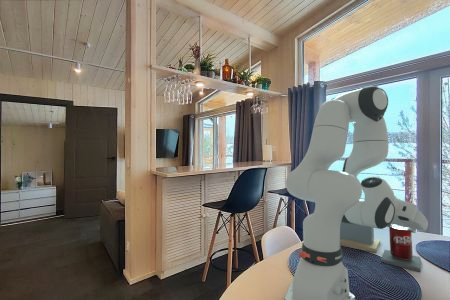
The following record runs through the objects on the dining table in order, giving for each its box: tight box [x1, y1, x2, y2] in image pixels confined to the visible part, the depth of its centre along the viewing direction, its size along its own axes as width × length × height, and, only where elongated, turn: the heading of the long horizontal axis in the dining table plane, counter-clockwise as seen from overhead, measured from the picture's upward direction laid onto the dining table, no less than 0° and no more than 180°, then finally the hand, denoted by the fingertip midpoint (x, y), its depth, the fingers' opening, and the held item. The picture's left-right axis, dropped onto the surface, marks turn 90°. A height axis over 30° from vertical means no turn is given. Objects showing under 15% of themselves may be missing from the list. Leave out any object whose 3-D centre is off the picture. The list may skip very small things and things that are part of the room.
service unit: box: [340, 221, 381, 253], centre depth 112 cm, size 14×18×18 cm
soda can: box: [388, 224, 414, 260], centre depth 93 cm, size 7×7×12 cm
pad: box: [380, 249, 421, 272], centre depth 93 cm, size 12×12×1 cm
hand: (400, 228), depth 94 cm, fingers closed on soda can, 7 cm apart
